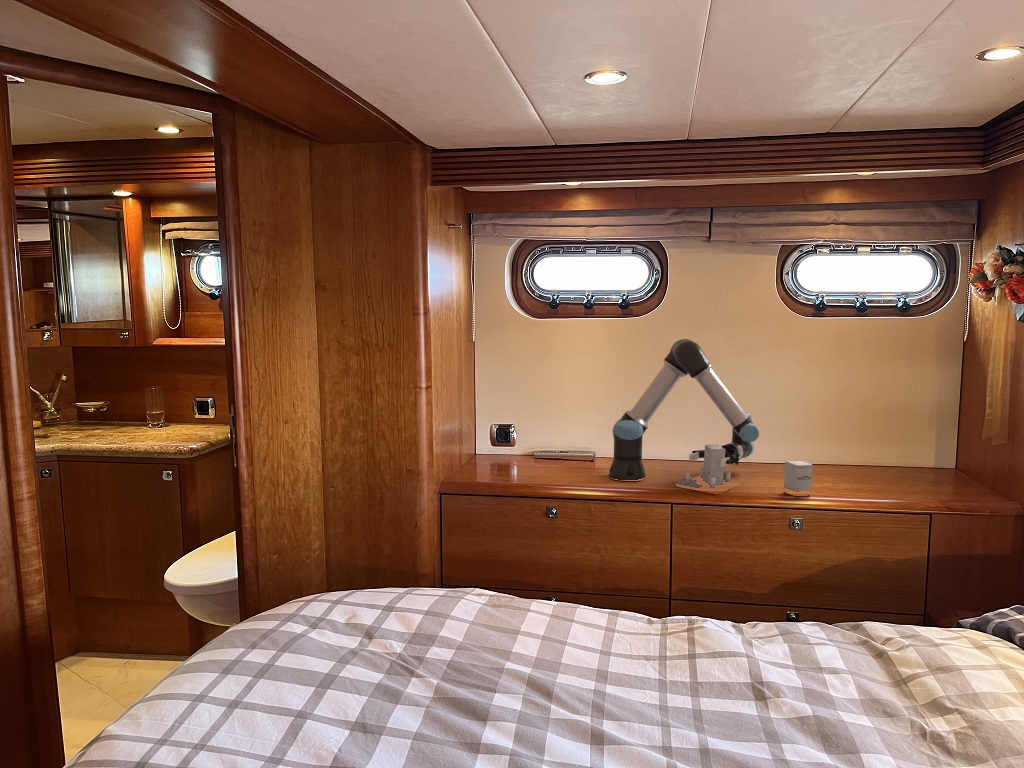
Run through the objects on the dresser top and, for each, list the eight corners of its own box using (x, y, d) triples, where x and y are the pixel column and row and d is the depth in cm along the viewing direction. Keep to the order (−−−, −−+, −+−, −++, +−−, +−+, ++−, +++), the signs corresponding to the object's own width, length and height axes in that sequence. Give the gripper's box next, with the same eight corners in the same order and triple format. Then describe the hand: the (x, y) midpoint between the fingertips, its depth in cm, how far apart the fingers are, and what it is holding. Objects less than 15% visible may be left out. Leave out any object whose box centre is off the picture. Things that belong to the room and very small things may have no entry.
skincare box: (702, 480, 302) (703, 444, 300) (716, 480, 302) (717, 444, 301) (709, 485, 294) (711, 448, 292) (724, 485, 294) (725, 448, 293)
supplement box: (794, 497, 283) (796, 465, 281) (782, 492, 290) (784, 461, 288) (811, 496, 285) (813, 464, 283) (799, 491, 292) (801, 460, 290)
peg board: (674, 486, 297) (675, 473, 297) (699, 478, 312) (699, 465, 311) (716, 495, 285) (717, 481, 284) (739, 485, 300) (740, 472, 299)
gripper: (758, 466, 303) (734, 475, 287) (702, 456, 320) (677, 464, 304) (759, 448, 302) (735, 455, 286) (703, 439, 319) (678, 446, 303)
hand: (705, 460), depth 295 cm, fingers open, 13 cm apart
